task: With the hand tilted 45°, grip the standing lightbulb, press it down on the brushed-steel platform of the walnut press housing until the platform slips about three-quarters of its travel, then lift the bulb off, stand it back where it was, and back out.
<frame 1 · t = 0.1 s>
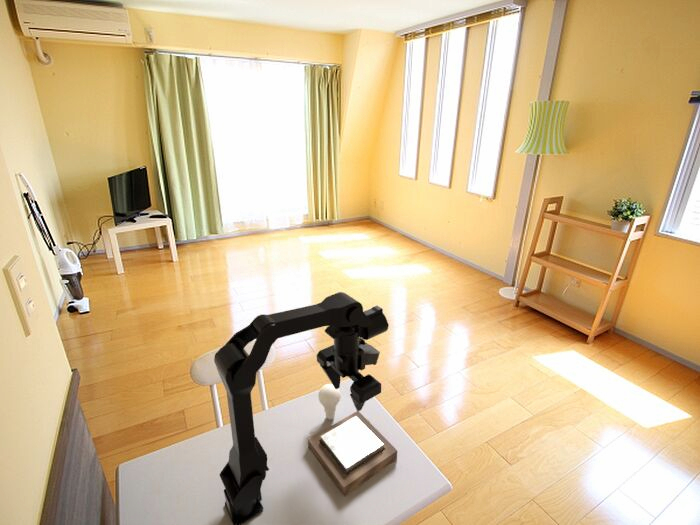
hand: (347, 398, 89), 15 cm above the table, tool pointing down, fingers open, 9 cm apart
platform: (351, 443, 91), point 3 cm above the table, slide at 0.0 cm
lightbulb: (330, 418, 103), on the table
press housing: (351, 453, 92), on the table
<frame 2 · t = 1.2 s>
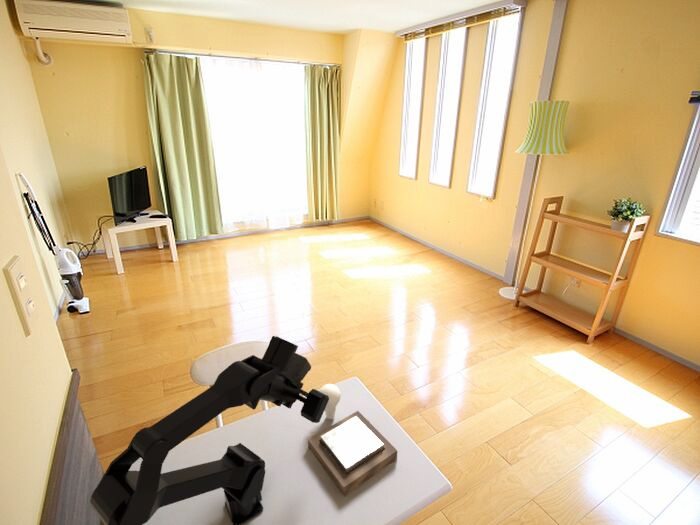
hand: (309, 397, 92), 13 cm above the table, tool tilted 45°, fingers open, 9 cm apart
nothing on the table moved.
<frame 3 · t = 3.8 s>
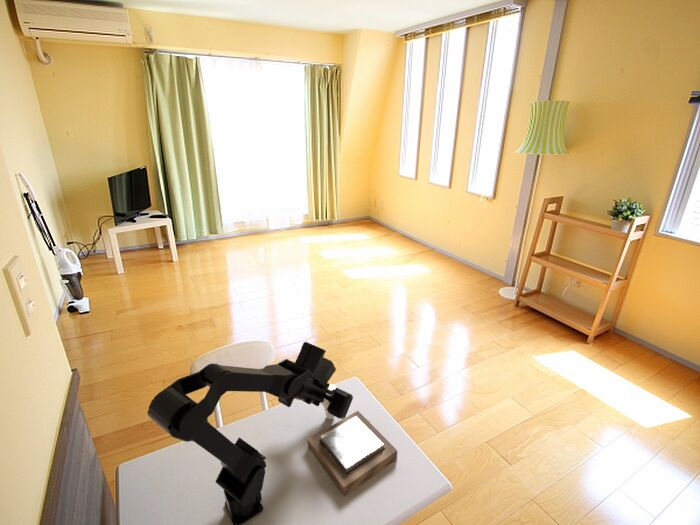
hand: (332, 396, 101), 7 cm above the table, tool tilted 45°, fingers closed on lightbulb, 6 cm apart
lightbulb: (330, 418, 103), on the table, touching gripper
everything else where it was.
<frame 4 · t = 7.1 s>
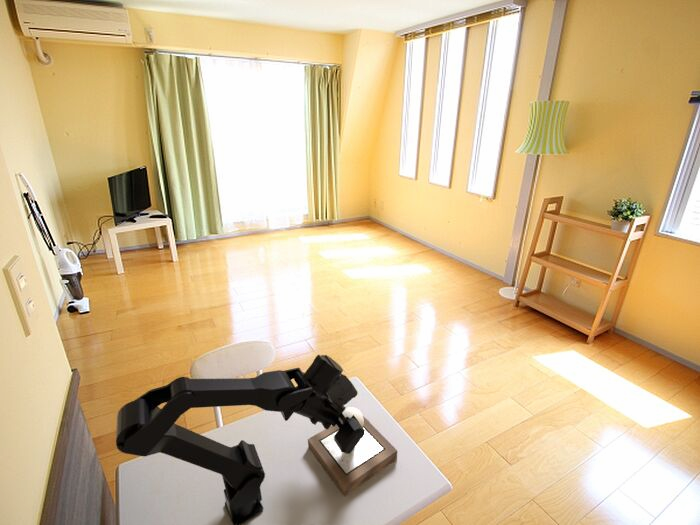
hand: (355, 422, 89), 10 cm above the table, tool tilted 45°, fingers closed on lightbulb, 6 cm apart
platform: (351, 447, 91), point 2 cm above the table, slide at -1.5 cm, touching lightbulb
lightbulb: (350, 445, 91), point 3 cm above the table, touching gripper, platform
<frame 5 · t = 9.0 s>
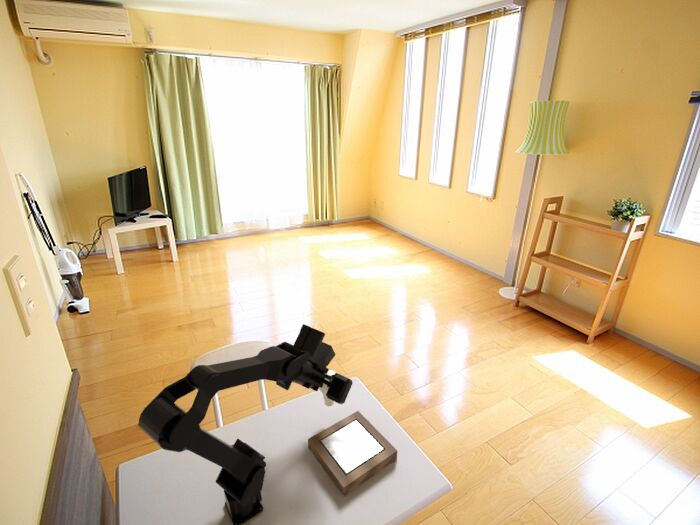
hand: (331, 383, 99), 11 cm above the table, tool tilted 45°, fingers closed on lightbulb, 6 cm apart
platform: (351, 447, 91), point 2 cm above the table, slide at -1.5 cm
lightbulb: (329, 405, 101), point 5 cm above the table, touching gripper
when the fingers open (8 cm above the table, at t = 10.5 s): lightbulb drops 1 cm, on the table.
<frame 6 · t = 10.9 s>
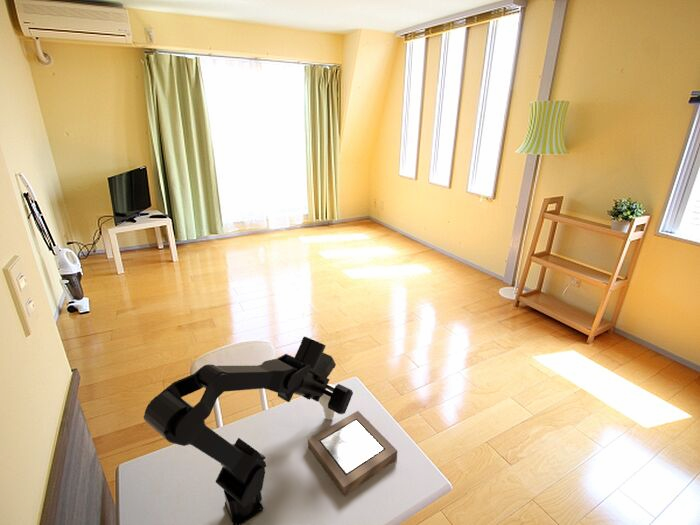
hand: (332, 392, 101), 8 cm above the table, tool tilted 45°, fingers open, 9 cm apart
lightbulb: (329, 418, 103), on the table
everything else where it was.
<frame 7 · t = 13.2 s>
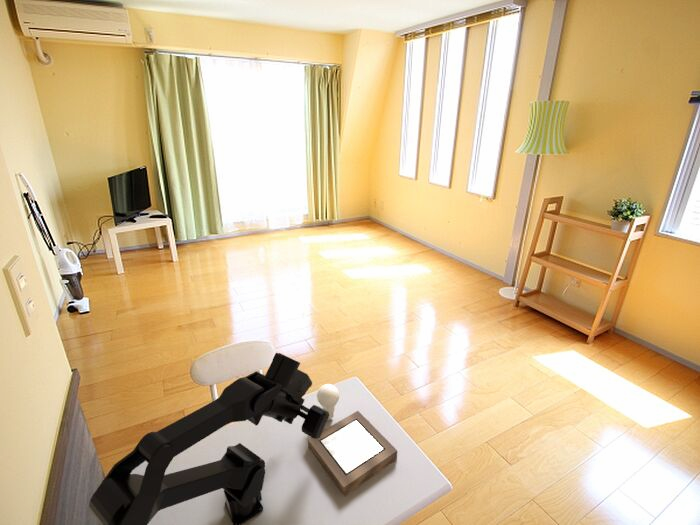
hand: (309, 412, 93), 9 cm above the table, tool tilted 45°, fingers open, 9 cm apart
nothing on the table moved.
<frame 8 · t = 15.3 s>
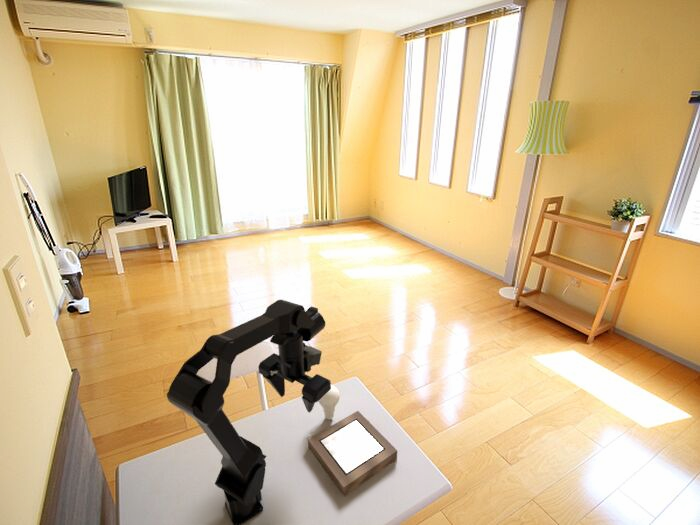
hand: (296, 403, 90), 13 cm above the table, tool pointing down, fingers open, 9 cm apart
nothing on the table moved.
at the end: platform slide at -1.5 cm; lightbulb inside the target area (0.3 cm from its centre), on the table; lightbulb tilted 0° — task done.
